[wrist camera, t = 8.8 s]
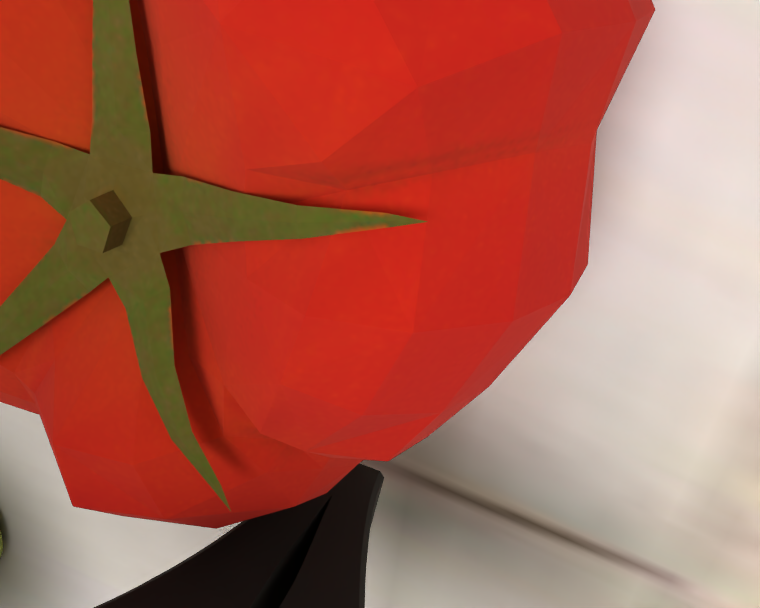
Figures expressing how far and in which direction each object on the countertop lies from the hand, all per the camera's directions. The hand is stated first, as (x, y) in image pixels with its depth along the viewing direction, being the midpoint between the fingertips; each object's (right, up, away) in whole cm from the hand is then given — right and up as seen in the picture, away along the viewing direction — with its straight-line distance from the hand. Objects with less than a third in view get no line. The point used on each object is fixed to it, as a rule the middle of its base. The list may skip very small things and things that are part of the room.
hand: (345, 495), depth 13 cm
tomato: (0, +8, -1) cm, 8 cm away
